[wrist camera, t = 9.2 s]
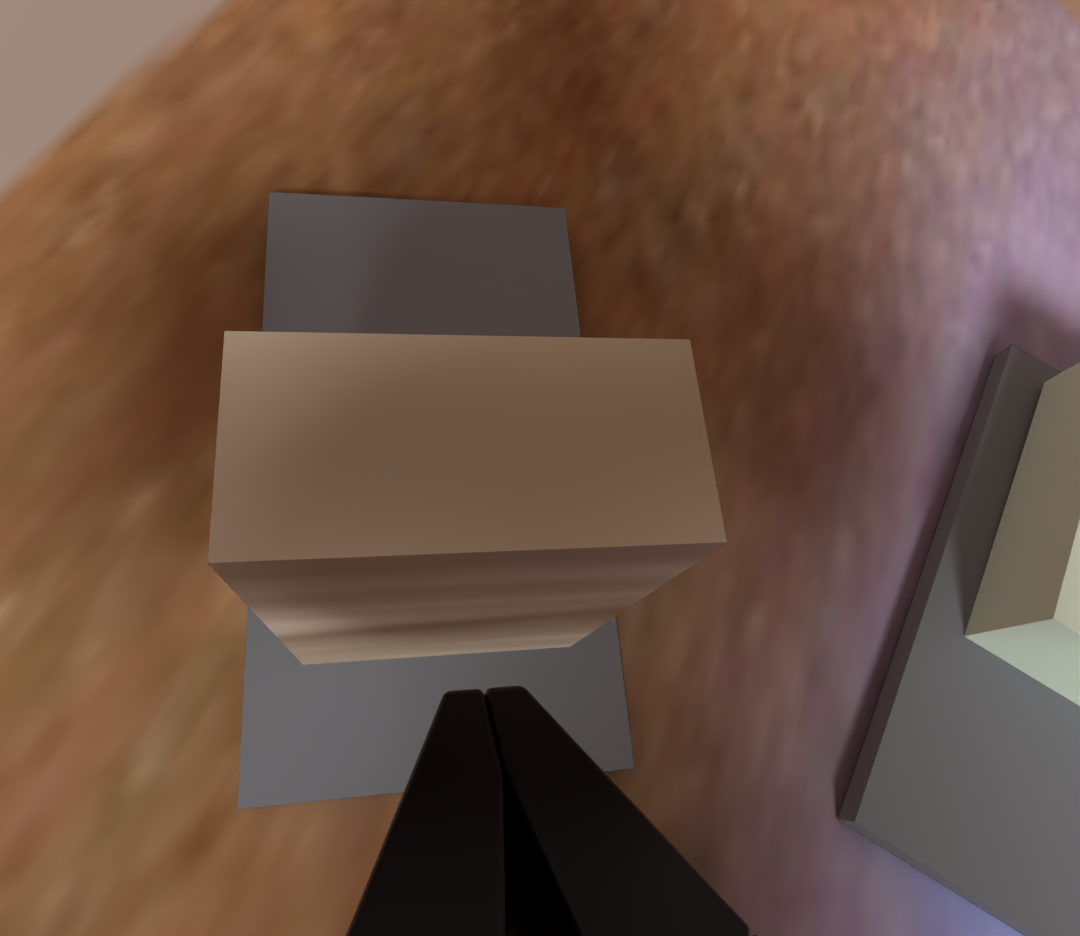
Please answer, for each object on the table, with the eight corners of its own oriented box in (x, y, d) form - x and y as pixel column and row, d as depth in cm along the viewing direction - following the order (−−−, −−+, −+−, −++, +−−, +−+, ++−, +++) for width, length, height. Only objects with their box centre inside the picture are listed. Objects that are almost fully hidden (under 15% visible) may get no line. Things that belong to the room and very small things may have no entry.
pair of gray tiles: (1134, 268, 22) (1153, 256, 22) (1423, 971, 16) (1460, 979, 15) (273, 201, 18) (270, 183, 17) (183, 1153, 11) (173, 1174, 11)
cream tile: (569, 647, 14) (726, 541, 8) (302, 664, 13) (206, 564, 7) (557, 523, 15) (688, 332, 9) (306, 532, 14) (225, 322, 8)
